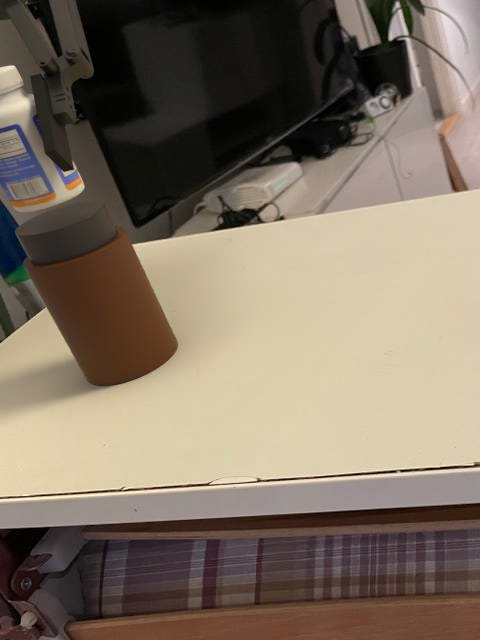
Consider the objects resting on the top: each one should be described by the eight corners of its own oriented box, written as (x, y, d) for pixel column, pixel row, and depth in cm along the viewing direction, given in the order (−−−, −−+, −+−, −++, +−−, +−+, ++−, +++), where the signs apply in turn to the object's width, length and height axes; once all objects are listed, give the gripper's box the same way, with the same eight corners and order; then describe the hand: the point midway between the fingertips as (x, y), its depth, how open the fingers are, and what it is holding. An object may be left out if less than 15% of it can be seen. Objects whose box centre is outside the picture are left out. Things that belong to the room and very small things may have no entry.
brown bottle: (66, 385, 66) (-17, 242, 59) (126, 336, 72) (57, 201, 66) (140, 386, 63) (62, 235, 56) (195, 334, 70) (131, 193, 63)
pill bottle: (66, 185, 64) (5, 63, 59) (99, 188, 60) (38, 59, 55) (2, 212, 60) (-68, 85, 55) (34, 216, 57) (-37, 82, 52)
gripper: (107, -72, 65) (163, 165, 60) (-117, -21, 64) (-80, 228, 58) (64, -151, 58) (123, 110, 53) (-191, -96, 56) (-157, 181, 51)
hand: (16, 172), depth 55 cm, fingers closed on pill bottle, 5 cm apart
